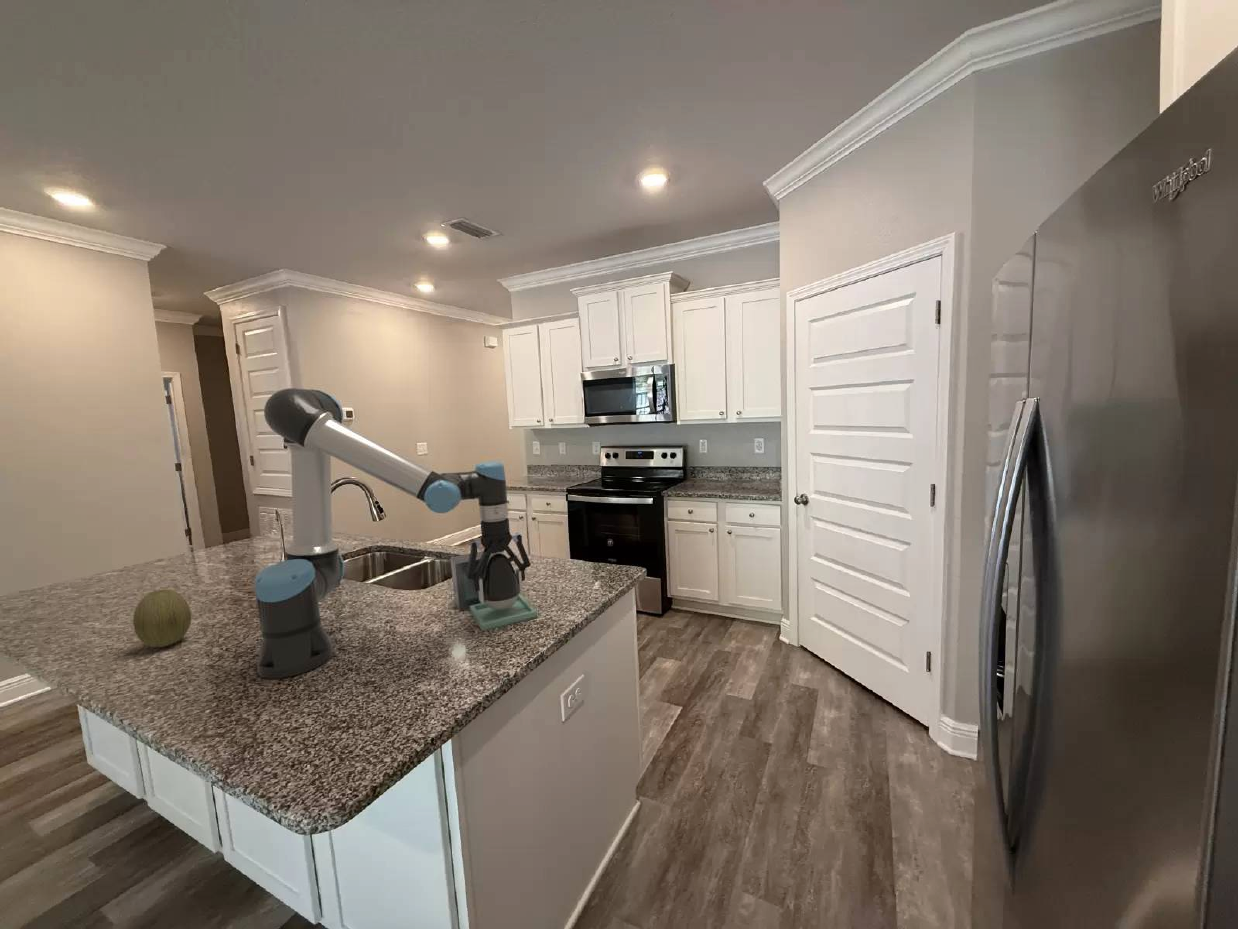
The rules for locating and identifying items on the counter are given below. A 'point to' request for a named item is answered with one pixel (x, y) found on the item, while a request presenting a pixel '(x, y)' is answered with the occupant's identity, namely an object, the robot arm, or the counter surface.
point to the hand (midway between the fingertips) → (501, 596)
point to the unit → (465, 581)
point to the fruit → (162, 618)
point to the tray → (502, 614)
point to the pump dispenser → (500, 582)
